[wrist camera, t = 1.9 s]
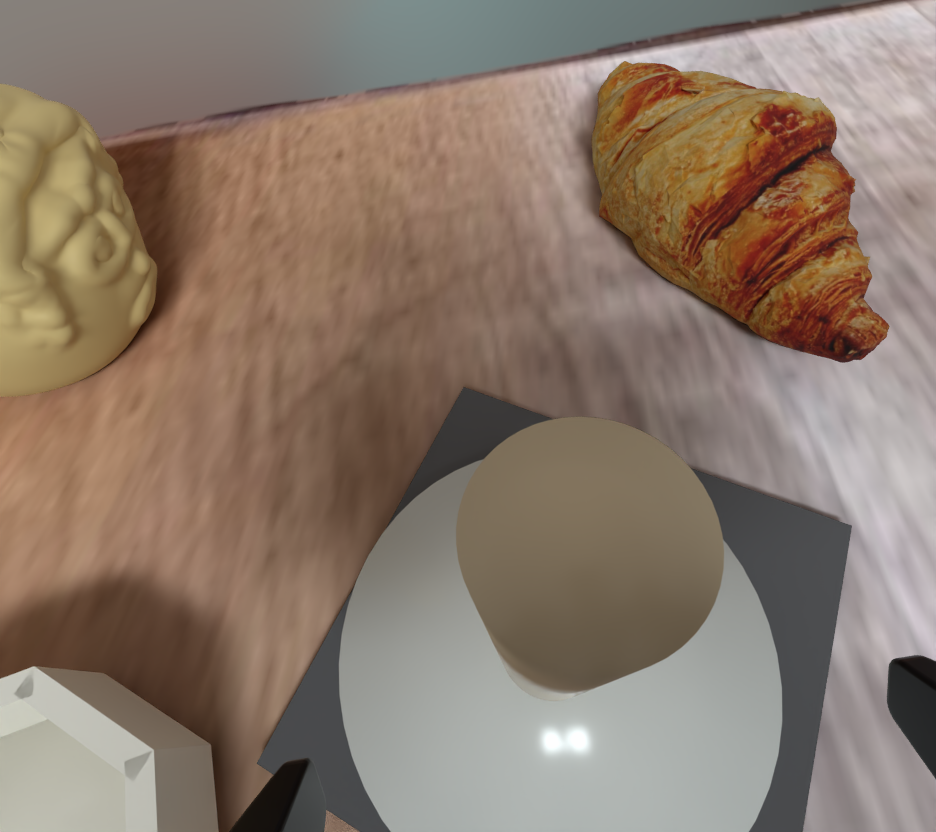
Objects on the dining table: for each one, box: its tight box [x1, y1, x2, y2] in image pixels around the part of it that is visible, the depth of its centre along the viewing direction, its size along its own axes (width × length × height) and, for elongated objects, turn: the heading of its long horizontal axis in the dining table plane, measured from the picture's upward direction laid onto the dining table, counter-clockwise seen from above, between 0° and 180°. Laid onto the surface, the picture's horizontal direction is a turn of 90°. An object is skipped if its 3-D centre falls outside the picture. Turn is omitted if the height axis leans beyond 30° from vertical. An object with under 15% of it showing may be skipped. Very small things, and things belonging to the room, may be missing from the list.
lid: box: [339, 417, 782, 832], centre depth 12 cm, size 14×14×13 cm
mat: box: [257, 387, 852, 832], centre depth 18 cm, size 15×15×1 cm
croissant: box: [591, 61, 889, 363], centre depth 25 cm, size 21×10×8 cm, turn 19°
